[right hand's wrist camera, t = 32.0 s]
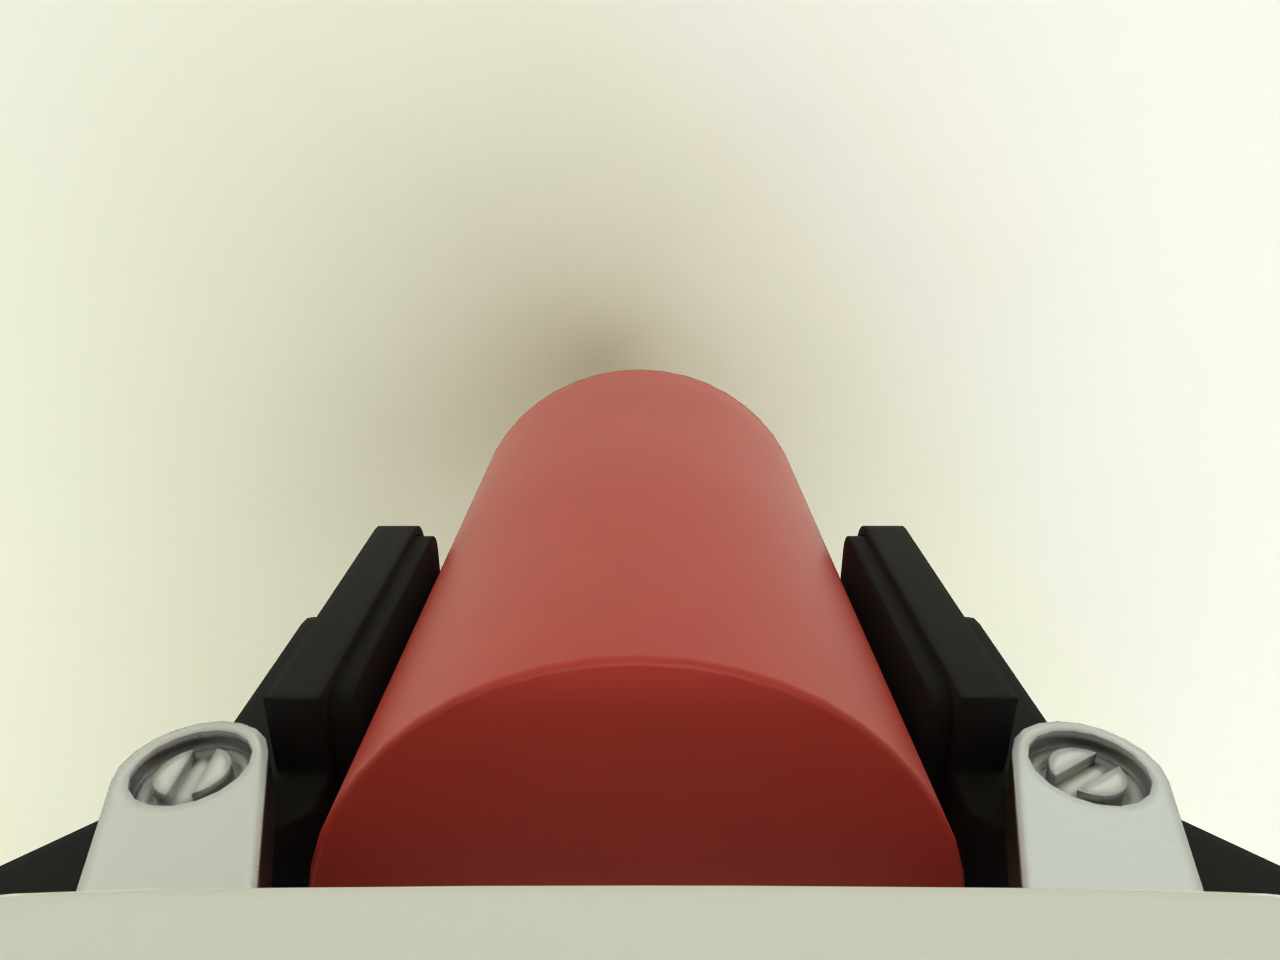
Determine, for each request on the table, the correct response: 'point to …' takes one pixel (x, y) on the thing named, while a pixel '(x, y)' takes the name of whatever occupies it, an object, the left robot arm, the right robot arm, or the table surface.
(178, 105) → the table surface
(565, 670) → the canister
